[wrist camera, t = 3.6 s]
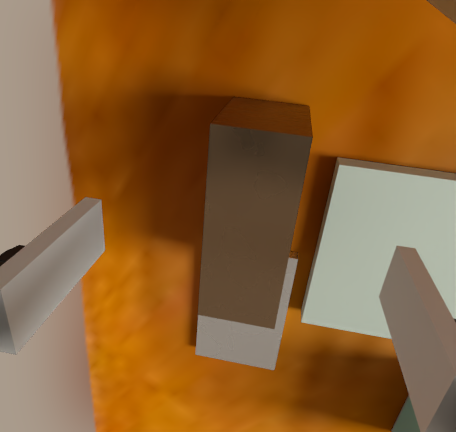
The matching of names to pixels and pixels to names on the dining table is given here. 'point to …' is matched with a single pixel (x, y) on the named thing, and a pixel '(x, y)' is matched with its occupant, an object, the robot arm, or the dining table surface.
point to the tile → (406, 419)
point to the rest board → (379, 241)
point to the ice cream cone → (446, 8)
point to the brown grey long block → (250, 228)
